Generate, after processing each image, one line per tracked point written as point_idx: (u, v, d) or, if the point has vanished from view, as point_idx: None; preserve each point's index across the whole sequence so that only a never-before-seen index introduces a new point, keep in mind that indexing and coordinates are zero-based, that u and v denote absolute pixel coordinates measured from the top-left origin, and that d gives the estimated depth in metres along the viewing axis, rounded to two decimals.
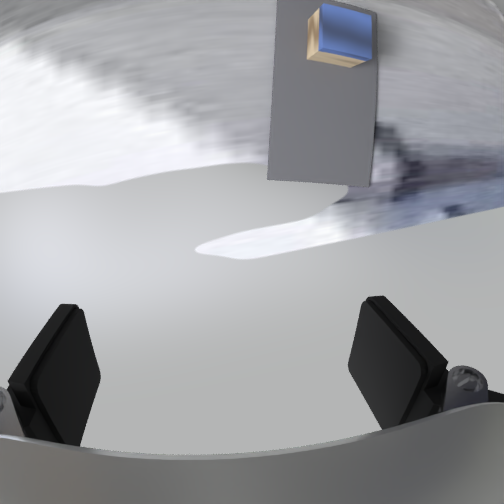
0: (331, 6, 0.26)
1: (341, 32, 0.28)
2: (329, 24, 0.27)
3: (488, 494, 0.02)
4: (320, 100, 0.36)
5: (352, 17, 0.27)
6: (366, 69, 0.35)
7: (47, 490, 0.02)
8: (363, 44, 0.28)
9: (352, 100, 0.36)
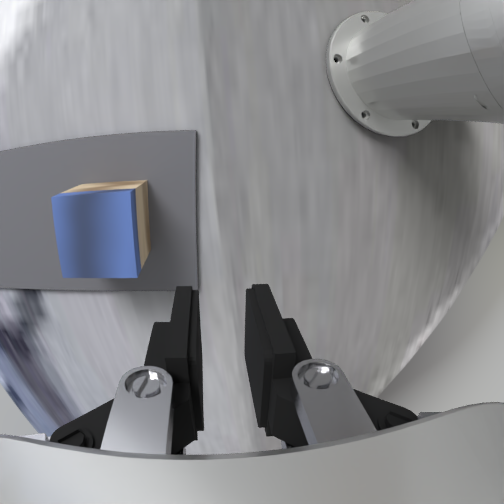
0: (128, 206, 0.19)
1: (84, 226, 0.19)
2: (91, 204, 0.19)
3: (488, 494, 0.02)
4: (35, 210, 0.24)
5: (119, 244, 0.20)
6: None
7: (47, 490, 0.02)
8: (79, 264, 0.20)
9: (48, 256, 0.26)
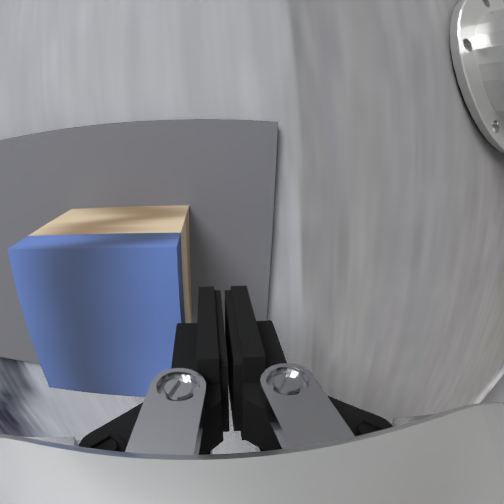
0: (171, 277, 0.09)
1: (78, 310, 0.09)
2: (89, 270, 0.09)
3: (488, 494, 0.02)
4: (0, 249, 0.14)
5: (152, 347, 0.10)
6: None
7: (47, 490, 0.02)
8: (75, 371, 0.10)
9: None
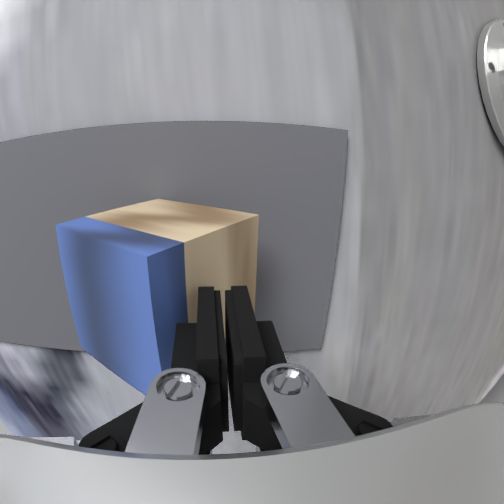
0: (144, 286, 0.09)
1: (92, 290, 0.11)
2: (95, 258, 0.10)
3: (488, 494, 0.02)
4: None
5: (137, 347, 0.10)
6: None
7: (47, 490, 0.02)
8: (94, 342, 0.12)
9: None
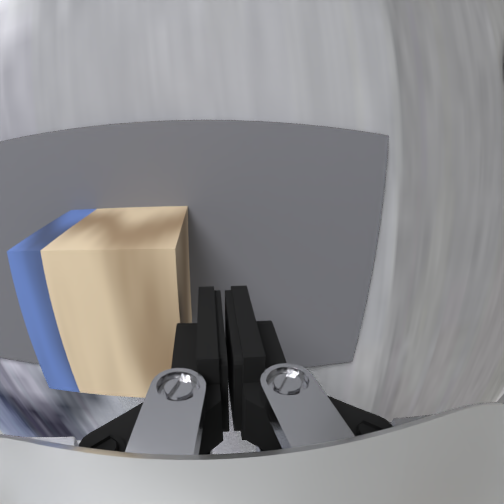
0: None
1: None
2: None
3: (488, 494, 0.02)
4: None
5: None
6: None
7: (47, 490, 0.02)
8: None
9: None
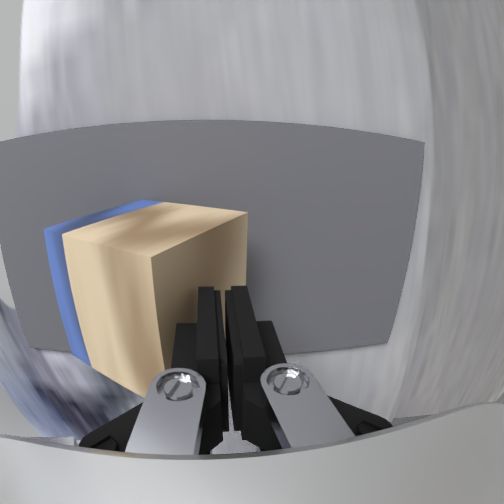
0: None
1: None
2: None
3: (488, 494, 0.02)
4: None
5: None
6: None
7: (47, 490, 0.02)
8: None
9: None
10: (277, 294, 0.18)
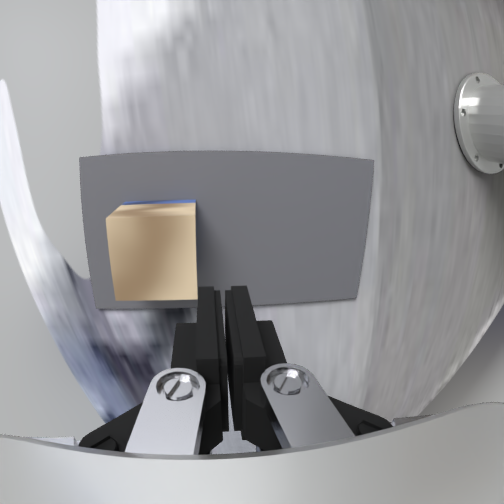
0: None
1: None
2: None
3: (488, 494, 0.02)
4: (204, 223, 0.27)
5: None
6: (266, 289, 0.30)
7: (47, 490, 0.02)
8: None
9: (213, 272, 0.28)
10: (279, 260, 0.29)
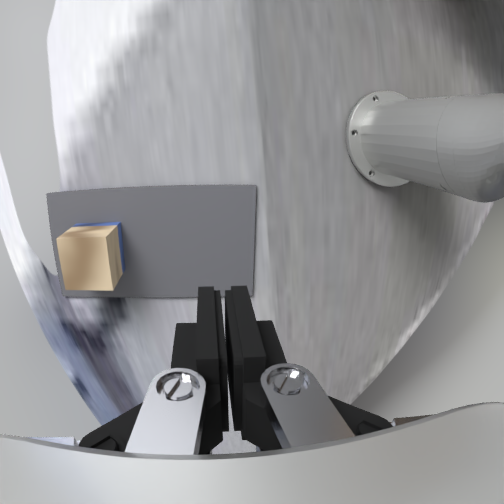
0: None
1: None
2: None
3: (488, 494, 0.02)
4: (127, 238, 0.36)
5: None
6: (176, 286, 0.39)
7: (47, 490, 0.02)
8: None
9: (136, 272, 0.38)
10: (182, 264, 0.38)
